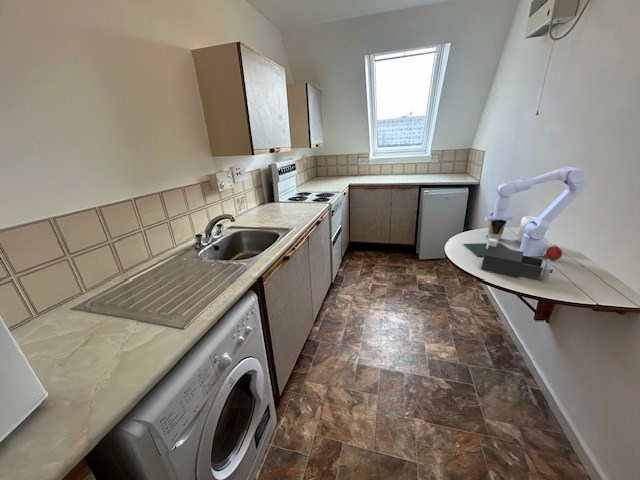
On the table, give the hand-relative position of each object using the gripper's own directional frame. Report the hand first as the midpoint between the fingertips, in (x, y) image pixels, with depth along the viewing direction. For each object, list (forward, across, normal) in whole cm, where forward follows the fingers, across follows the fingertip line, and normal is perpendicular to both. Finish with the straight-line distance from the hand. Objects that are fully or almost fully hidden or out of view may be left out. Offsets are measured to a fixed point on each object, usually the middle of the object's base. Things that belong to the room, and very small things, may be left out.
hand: (495, 233), depth 137 cm
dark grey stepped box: (+9, -11, -18) cm, 23 cm away
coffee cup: (+10, +13, +14) cm, 21 cm away
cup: (+10, +24, +4) cm, 26 cm away
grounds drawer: (+8, -3, -26) cm, 28 cm away
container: (+9, 0, +1) cm, 9 cm away
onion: (+10, +18, -17) cm, 26 cm away
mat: (+9, -1, 0) cm, 9 cm away
